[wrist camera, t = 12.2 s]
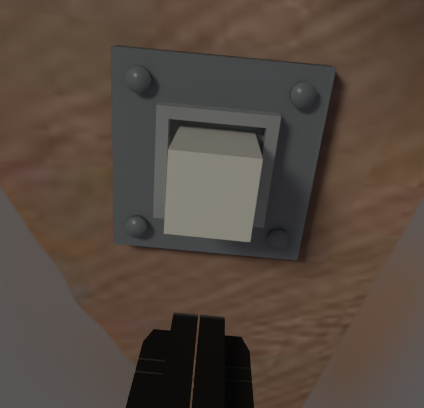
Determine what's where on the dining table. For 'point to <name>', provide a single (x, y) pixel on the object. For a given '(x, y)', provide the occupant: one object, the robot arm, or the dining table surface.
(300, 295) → the dining table surface
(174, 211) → the brick
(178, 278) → the dining table surface
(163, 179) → the baseplate
